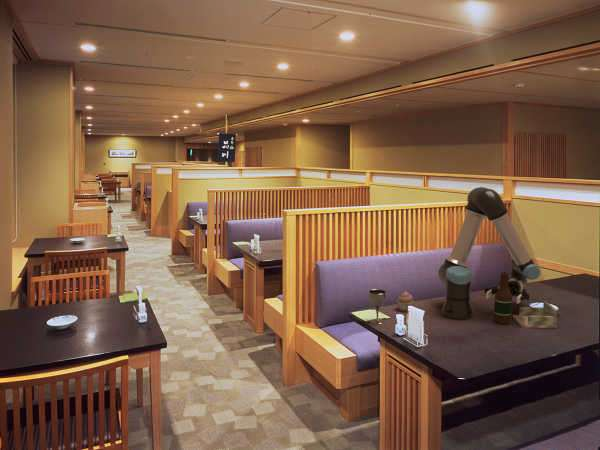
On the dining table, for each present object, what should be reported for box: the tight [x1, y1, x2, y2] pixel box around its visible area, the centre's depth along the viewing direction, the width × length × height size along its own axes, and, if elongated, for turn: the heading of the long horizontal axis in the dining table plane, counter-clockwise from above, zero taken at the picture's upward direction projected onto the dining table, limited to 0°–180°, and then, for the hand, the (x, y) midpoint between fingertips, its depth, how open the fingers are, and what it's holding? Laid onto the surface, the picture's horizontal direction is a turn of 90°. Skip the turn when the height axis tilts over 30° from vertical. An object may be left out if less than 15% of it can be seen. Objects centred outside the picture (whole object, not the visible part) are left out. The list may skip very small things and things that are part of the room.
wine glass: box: [368, 288, 387, 325], centre depth 229 cm, size 8×8×15 cm
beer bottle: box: [493, 271, 513, 325], centre depth 223 cm, size 8×8×24 cm
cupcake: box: [396, 290, 416, 313], centre depth 245 cm, size 9×9×10 cm
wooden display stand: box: [512, 301, 558, 329], centre depth 223 cm, size 15×14×8 cm
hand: (502, 298), depth 221 cm, fingers open, 13 cm apart
